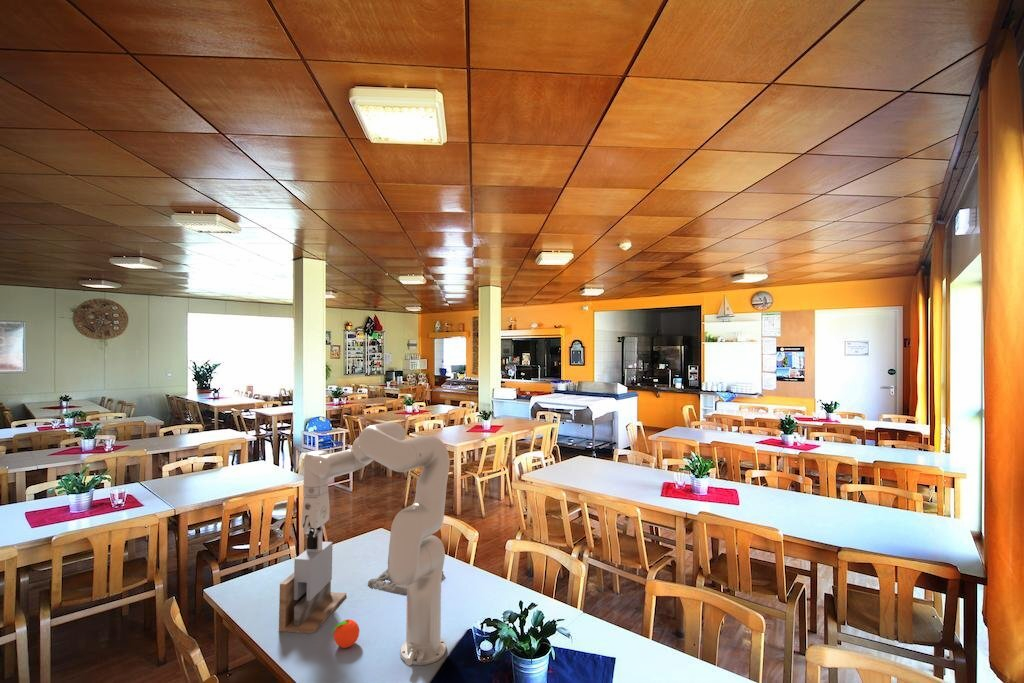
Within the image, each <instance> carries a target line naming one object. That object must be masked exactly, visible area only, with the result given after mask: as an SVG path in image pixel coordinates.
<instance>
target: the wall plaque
mask: <svg viewBox="0 0 1024 683" xmlns="http://www.w3.org/2000/svg"><path fill="white" fill-rule="evenodd" d="M444 578H445V575H444V570H443V571H442V579H444ZM385 580H387V581H385ZM383 581H384V582H383ZM389 581H390V582H389ZM367 582H368V583H367V587H369V588H371V587H372V588H371V589H373V588H374V590H377V589H378V590H377V591H381V590H384V591H383V592H387V593H391V594H399V595H404V596H407V586H405V587H401V586H398V585H396V584H395V583H394V582H393V581H392V580H391V578H390V576H389V572H388V568H386V569H385V571H383V572H382V573H381V574H380V575H379V576H378V577H377V578H370V579H369V580H368V581H367Z"/></svg>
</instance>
